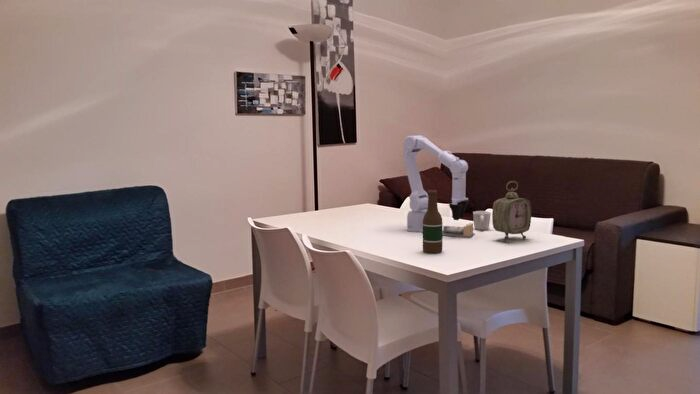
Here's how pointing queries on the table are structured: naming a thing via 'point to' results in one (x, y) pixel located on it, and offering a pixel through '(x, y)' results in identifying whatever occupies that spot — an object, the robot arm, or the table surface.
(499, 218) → the tabletop clock
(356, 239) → the table surface
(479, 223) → the cup
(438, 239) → the beer bottle
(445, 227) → the tube
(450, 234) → the board
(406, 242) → the table surface
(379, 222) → the table surface
